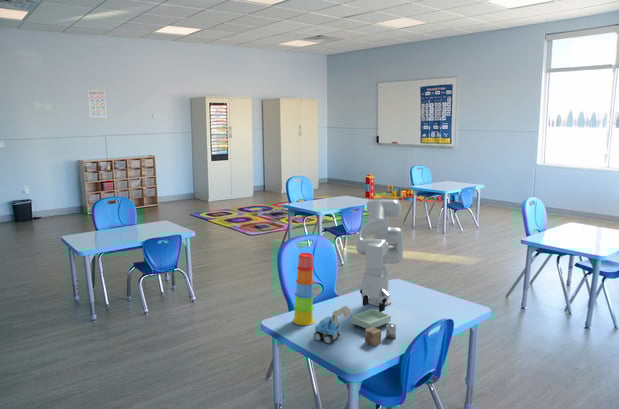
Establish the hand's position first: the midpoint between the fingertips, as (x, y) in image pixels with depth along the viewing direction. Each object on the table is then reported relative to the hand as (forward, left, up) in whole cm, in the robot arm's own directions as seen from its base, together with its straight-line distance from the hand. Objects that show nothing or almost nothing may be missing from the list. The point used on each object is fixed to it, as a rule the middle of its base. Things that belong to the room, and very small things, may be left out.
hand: (373, 308), depth 222 cm
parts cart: (-13, +13, -16) cm, 25 cm away
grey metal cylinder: (+2, +10, -16) cm, 19 cm away
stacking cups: (-39, -8, -17) cm, 43 cm away
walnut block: (0, 0, -17) cm, 17 cm away
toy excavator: (-14, -12, -17) cm, 25 cm away
